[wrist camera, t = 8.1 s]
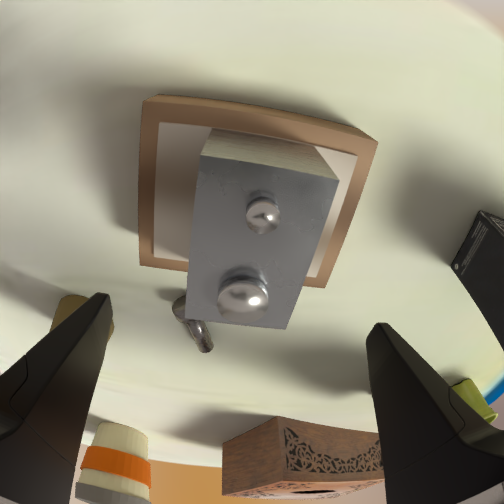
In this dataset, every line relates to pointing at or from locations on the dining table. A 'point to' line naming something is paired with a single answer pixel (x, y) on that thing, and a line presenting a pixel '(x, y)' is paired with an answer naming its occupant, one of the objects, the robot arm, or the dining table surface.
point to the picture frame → (187, 164)
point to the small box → (485, 269)
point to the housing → (255, 227)
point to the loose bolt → (193, 326)
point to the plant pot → (475, 399)
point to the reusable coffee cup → (115, 467)
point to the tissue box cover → (300, 461)
